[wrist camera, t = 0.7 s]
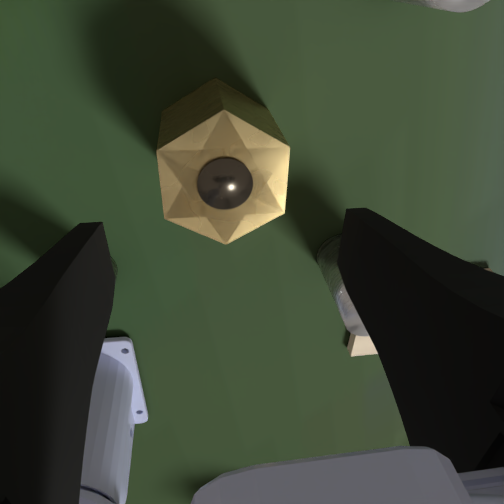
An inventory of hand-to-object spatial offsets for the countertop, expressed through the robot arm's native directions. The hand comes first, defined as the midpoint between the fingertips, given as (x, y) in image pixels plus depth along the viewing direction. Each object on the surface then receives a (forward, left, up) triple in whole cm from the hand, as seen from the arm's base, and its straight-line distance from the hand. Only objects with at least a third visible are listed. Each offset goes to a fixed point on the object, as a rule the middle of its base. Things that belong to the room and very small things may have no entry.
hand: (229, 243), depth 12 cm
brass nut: (0, 0, -9) cm, 9 cm away
